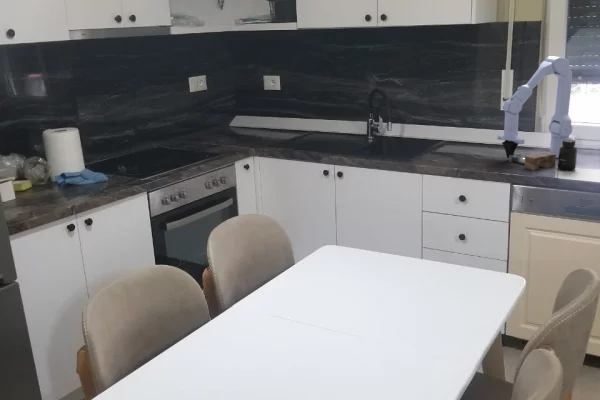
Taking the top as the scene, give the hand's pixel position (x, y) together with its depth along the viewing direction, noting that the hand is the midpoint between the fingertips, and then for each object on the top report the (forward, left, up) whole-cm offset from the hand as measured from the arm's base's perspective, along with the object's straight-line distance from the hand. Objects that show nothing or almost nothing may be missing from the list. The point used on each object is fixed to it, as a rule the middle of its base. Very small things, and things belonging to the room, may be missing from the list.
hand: (509, 157), depth 276 cm
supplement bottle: (-6, +26, -1) cm, 27 cm away
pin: (0, +8, -1) cm, 8 cm away
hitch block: (0, +17, -1) cm, 17 cm away
